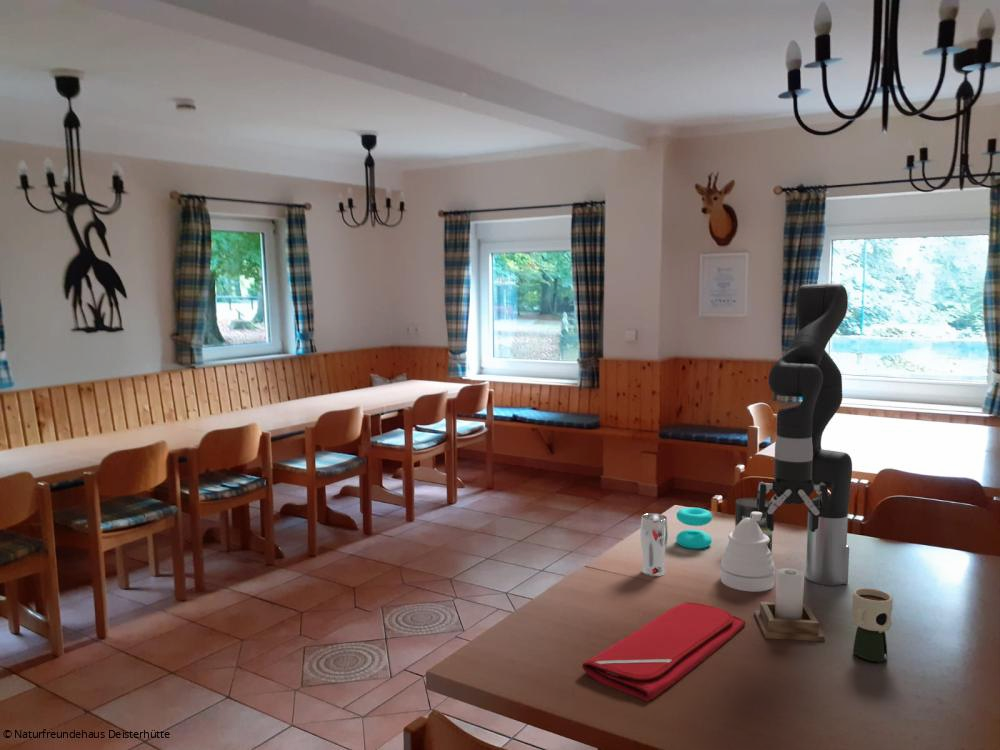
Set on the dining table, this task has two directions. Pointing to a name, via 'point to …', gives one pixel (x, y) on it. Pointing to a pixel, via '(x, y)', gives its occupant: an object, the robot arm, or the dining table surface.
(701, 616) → the red folded cloth
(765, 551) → the honey pot
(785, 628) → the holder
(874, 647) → the character mug
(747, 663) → the dining table surface
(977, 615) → the dining table surface
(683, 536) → the donuts
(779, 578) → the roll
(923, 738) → the dining table surface
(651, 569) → the beer glass
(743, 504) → the coffee can
